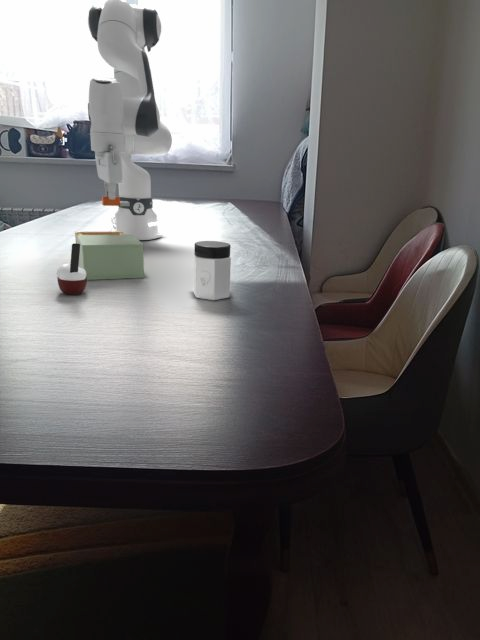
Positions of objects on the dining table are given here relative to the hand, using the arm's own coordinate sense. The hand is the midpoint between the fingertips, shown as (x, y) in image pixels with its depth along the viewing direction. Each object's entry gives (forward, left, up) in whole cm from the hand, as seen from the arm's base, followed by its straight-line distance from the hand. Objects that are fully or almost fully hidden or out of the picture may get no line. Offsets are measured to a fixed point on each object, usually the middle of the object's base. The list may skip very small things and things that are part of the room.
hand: (110, 198), depth 142 cm
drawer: (0, -3, -16) cm, 17 cm away
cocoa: (+33, -14, -18) cm, 40 cm away
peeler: (0, +1, -2) cm, 2 cm away
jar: (+41, +16, -18) cm, 47 cm away
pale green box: (+14, -3, -17) cm, 23 cm away
